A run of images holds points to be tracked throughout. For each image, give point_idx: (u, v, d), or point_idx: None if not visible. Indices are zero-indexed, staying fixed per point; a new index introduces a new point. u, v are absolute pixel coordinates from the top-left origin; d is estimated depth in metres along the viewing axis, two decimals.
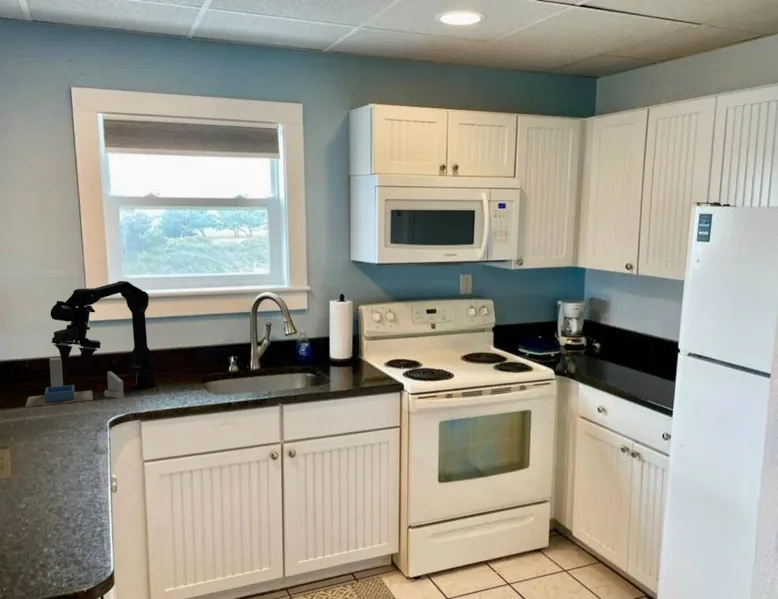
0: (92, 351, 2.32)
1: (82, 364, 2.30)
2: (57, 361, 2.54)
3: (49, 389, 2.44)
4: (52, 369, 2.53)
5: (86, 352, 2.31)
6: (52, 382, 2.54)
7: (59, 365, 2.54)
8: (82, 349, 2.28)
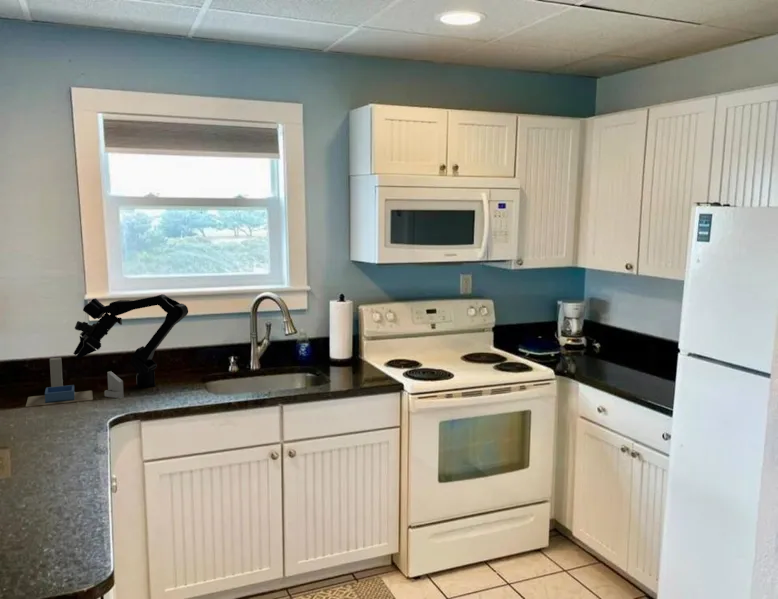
0: (92, 350, 2.55)
1: (78, 356, 2.53)
2: (57, 361, 2.54)
3: (49, 389, 2.44)
4: (52, 369, 2.53)
5: (87, 348, 2.54)
6: (52, 382, 2.54)
7: (59, 365, 2.54)
8: (83, 342, 2.53)
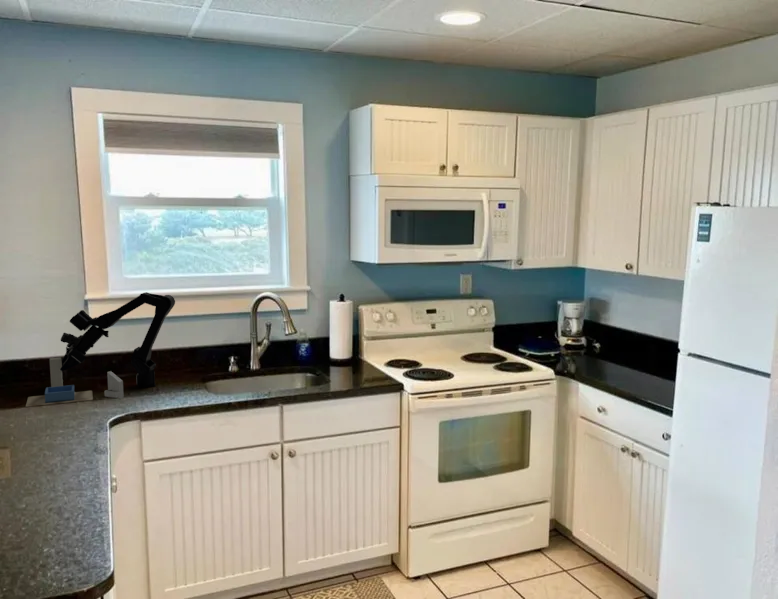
0: (76, 362, 2.53)
1: (62, 368, 2.52)
2: (57, 361, 2.54)
3: (49, 389, 2.44)
4: (52, 369, 2.53)
5: (71, 360, 2.53)
6: (52, 382, 2.54)
7: (59, 365, 2.54)
8: (68, 355, 2.51)
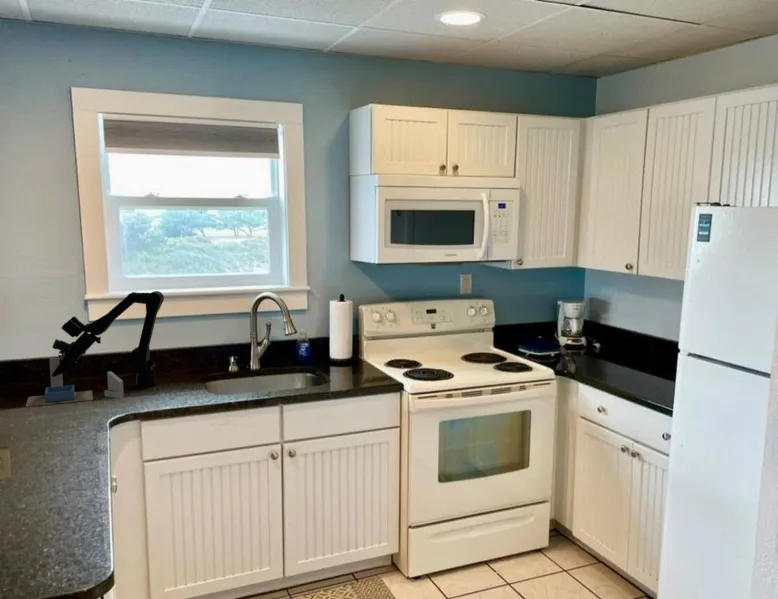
0: (68, 368, 2.54)
1: (54, 374, 2.53)
2: (57, 361, 2.53)
3: (49, 389, 2.44)
4: (52, 369, 2.53)
5: (63, 366, 2.54)
6: (52, 382, 2.54)
7: None
8: None
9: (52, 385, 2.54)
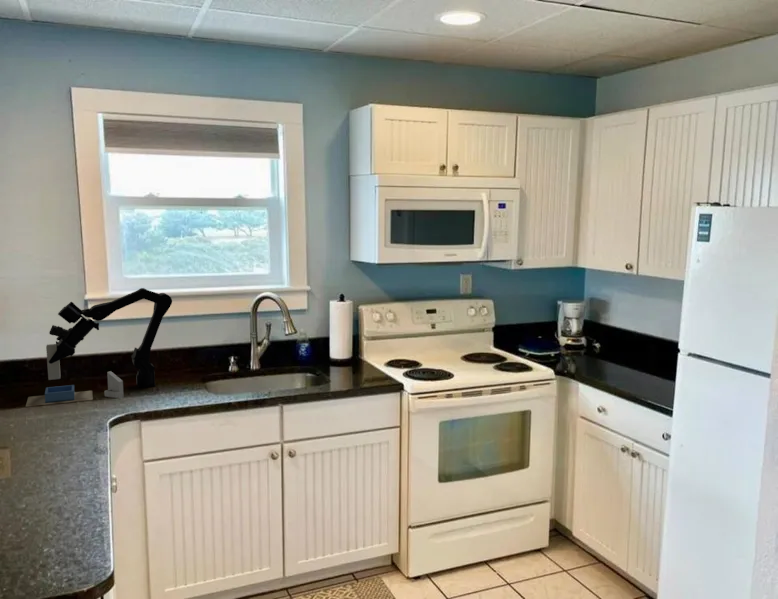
0: (65, 355, 2.46)
1: (51, 361, 2.45)
2: (54, 347, 2.46)
3: (49, 389, 2.44)
4: (49, 356, 2.45)
5: (60, 353, 2.46)
6: (49, 369, 2.46)
7: None
8: None
9: (49, 372, 2.46)
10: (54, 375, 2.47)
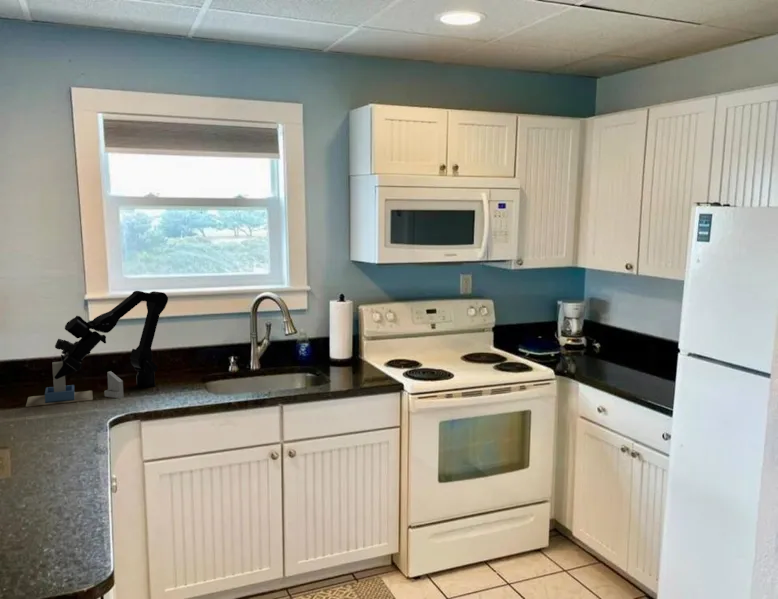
0: (72, 370, 2.38)
1: (57, 376, 2.37)
2: (60, 365, 2.39)
3: (49, 389, 2.44)
4: (55, 374, 2.39)
5: (66, 368, 2.38)
6: (55, 388, 2.39)
7: None
8: None
9: (55, 391, 2.39)
10: None
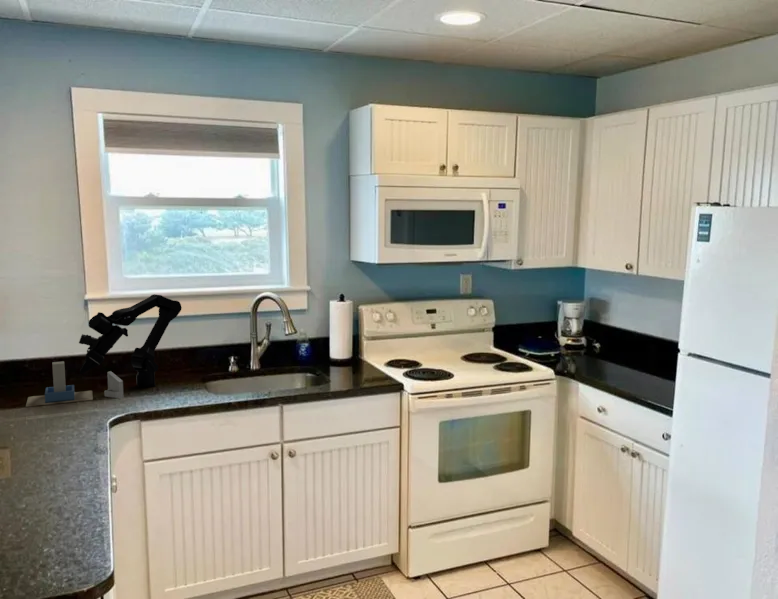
0: (95, 364, 2.42)
1: (81, 371, 2.41)
2: (60, 365, 2.39)
3: (49, 389, 2.44)
4: (55, 374, 2.39)
5: (90, 362, 2.42)
6: (55, 388, 2.39)
7: (62, 369, 2.40)
8: None
9: (55, 391, 2.39)
10: None
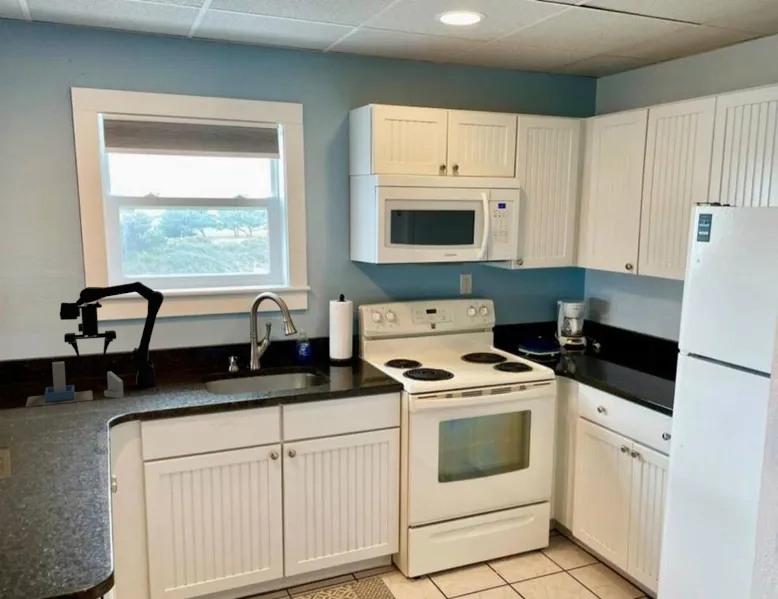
0: None
1: (77, 355, 2.56)
2: (60, 365, 2.39)
3: (49, 389, 2.44)
4: (55, 374, 2.39)
5: None
6: (55, 388, 2.39)
7: (62, 369, 2.40)
8: None
9: (55, 391, 2.39)
10: None
